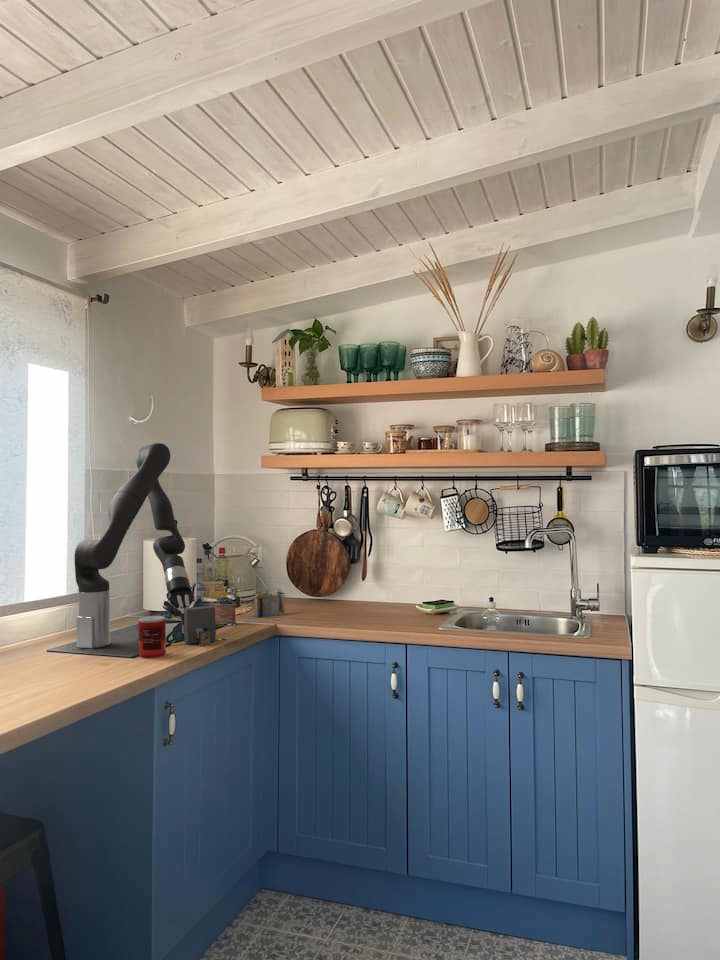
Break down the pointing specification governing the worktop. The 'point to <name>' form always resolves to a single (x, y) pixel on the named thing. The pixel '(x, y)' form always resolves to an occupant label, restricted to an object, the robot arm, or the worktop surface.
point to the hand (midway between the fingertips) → (187, 625)
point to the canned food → (152, 636)
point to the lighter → (225, 611)
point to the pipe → (203, 637)
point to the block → (199, 622)
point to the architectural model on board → (269, 605)
